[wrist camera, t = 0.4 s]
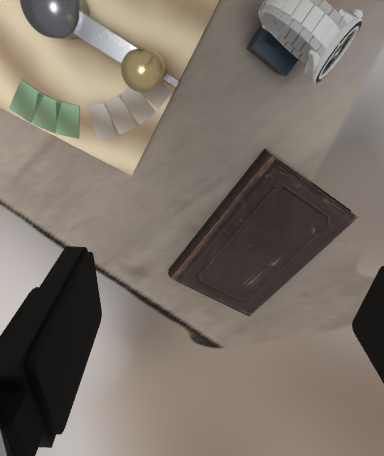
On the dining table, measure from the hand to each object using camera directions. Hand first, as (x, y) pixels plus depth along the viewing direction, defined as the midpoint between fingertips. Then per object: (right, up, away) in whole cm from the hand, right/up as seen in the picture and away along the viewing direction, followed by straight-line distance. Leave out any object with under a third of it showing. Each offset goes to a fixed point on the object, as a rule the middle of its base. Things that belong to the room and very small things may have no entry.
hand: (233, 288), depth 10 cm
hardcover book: (+8, 0, +34) cm, 35 cm away
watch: (+8, +22, +20) cm, 30 cm away
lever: (-9, +20, +19) cm, 29 cm away
